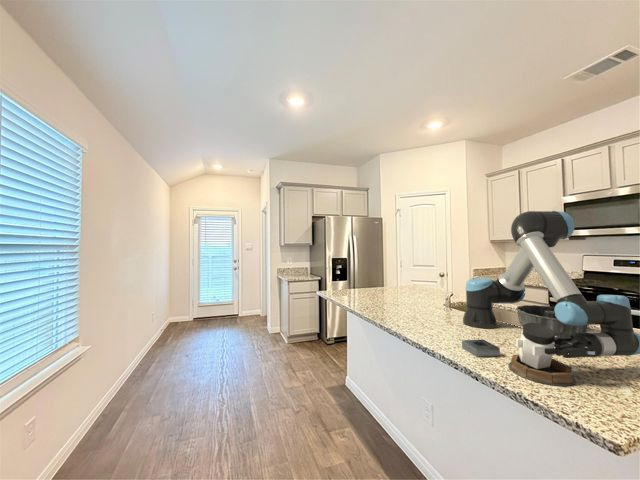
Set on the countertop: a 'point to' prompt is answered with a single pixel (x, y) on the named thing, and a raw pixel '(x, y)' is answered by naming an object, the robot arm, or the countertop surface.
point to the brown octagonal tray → (544, 372)
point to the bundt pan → (547, 320)
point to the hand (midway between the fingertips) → (525, 346)
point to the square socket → (480, 348)
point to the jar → (536, 344)
